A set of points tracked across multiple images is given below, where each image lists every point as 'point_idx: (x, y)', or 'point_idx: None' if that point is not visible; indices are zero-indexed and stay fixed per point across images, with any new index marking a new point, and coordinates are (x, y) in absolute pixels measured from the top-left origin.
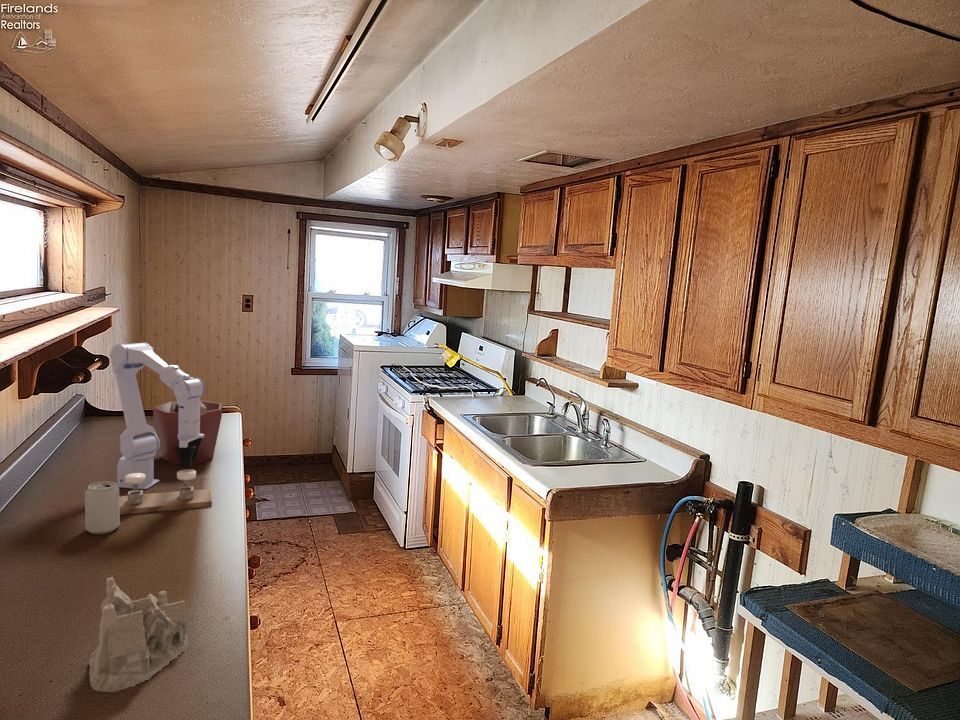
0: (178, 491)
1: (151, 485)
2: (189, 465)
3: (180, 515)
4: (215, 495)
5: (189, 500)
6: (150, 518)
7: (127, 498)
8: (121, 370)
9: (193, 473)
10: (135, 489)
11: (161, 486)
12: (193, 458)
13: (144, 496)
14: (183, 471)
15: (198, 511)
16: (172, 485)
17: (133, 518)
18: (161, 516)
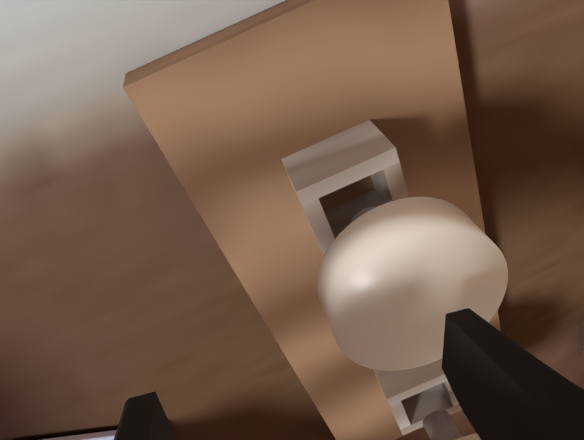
0: (237, 268)
1: (107, 434)
2: (502, 335)
3: (554, 94)
4: (160, 4)
5: (410, 127)
6: (559, 218)
7: (368, 407)
8: None
9: (473, 232)
10: (451, 418)
11: (83, 396)
12: (162, 436)
13: (339, 369)
14: (402, 336)
15: (508, 5)
16: (42, 363)
17: (541, 280)
18: (545, 184)
